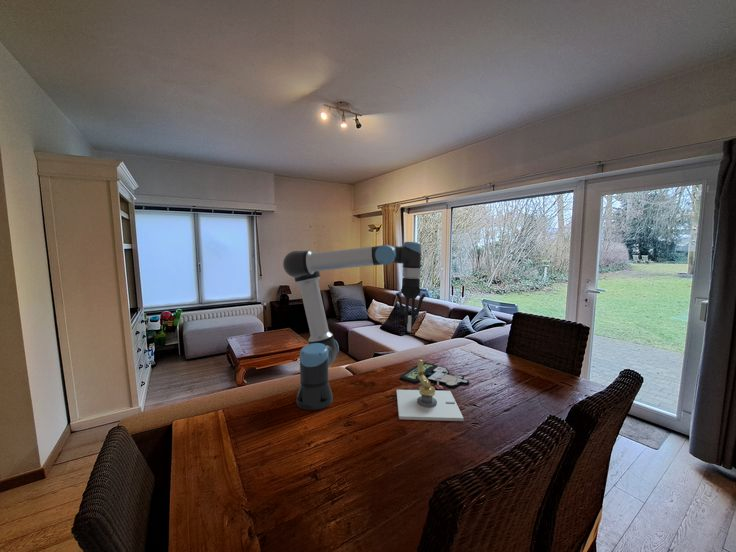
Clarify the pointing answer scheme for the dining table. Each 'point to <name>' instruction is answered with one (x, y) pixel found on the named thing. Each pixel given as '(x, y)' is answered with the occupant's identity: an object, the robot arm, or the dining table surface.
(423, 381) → the brass lever knob
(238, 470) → the dining table surface
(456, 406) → the post board
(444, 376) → the sign
